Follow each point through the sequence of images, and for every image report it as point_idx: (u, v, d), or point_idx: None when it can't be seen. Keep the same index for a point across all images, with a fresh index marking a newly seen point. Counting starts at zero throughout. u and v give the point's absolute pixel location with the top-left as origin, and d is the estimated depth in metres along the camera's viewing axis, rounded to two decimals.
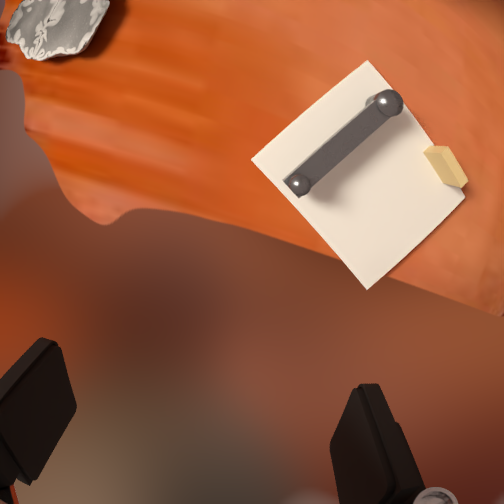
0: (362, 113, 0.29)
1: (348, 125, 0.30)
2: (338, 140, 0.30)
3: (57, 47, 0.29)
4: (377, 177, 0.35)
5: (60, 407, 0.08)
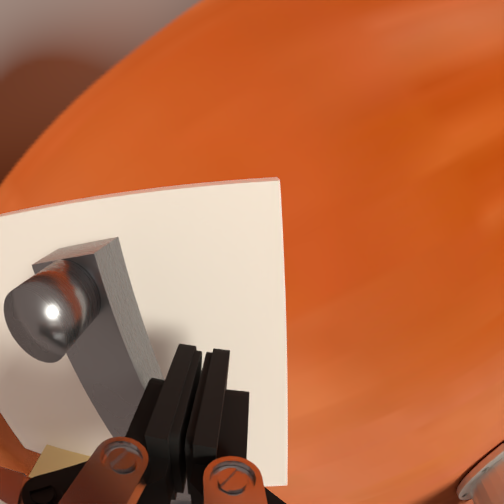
0: None
1: None
2: None
3: None
4: (77, 388, 0.15)
5: None
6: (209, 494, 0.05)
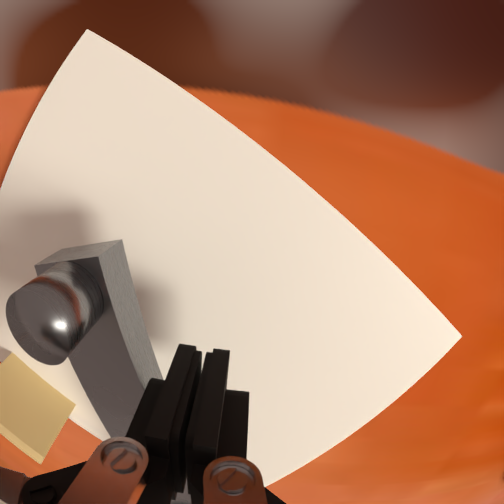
0: None
1: None
2: None
3: None
4: None
5: None
6: (209, 494, 0.05)
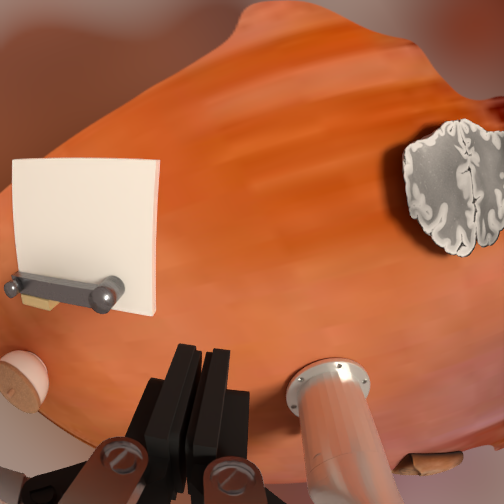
0: (75, 288, 0.33)
1: (62, 286, 0.33)
2: (50, 287, 0.33)
3: (435, 143, 0.30)
4: (70, 237, 0.35)
5: None
6: (209, 494, 0.05)
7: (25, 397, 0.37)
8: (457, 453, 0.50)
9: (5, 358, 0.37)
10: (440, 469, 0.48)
